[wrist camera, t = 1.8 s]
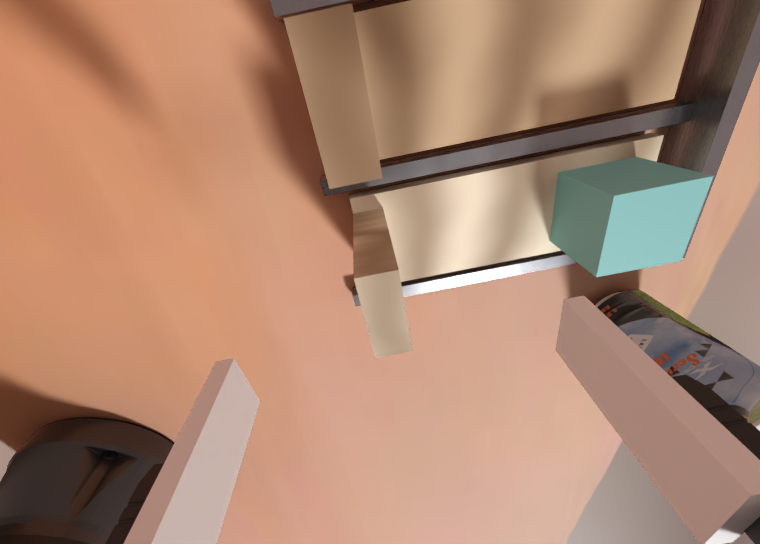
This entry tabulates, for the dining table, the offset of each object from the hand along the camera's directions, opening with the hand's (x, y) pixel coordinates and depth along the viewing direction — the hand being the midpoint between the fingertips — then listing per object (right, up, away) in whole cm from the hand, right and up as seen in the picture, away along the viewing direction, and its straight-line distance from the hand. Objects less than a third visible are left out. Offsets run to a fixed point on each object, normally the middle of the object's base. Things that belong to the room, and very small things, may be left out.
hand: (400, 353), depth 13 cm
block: (+14, +8, +9) cm, 18 cm away
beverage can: (+21, 0, +16) cm, 26 cm away
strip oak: (+6, +15, +5) cm, 17 cm away
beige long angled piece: (+8, +8, +10) cm, 15 cm away
